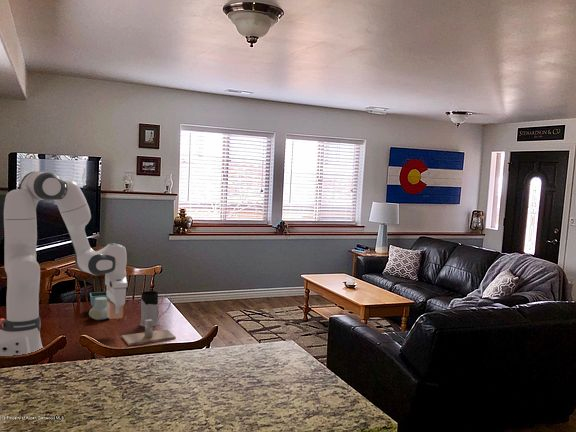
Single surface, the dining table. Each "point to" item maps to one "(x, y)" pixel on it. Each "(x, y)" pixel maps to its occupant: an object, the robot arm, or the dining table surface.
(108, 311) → the peach block
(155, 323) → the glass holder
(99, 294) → the flower pot
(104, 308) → the air freshener
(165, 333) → the post stand
